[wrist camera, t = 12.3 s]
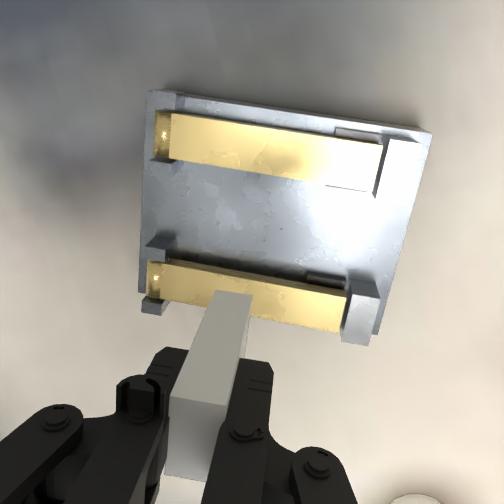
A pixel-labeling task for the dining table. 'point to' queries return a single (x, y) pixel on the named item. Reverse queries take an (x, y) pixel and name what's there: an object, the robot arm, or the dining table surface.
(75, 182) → the dining table surface
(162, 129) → the latch bar front
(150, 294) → the bar
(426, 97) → the dining table surface
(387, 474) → the dining table surface
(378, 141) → the base
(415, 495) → the foam cup
